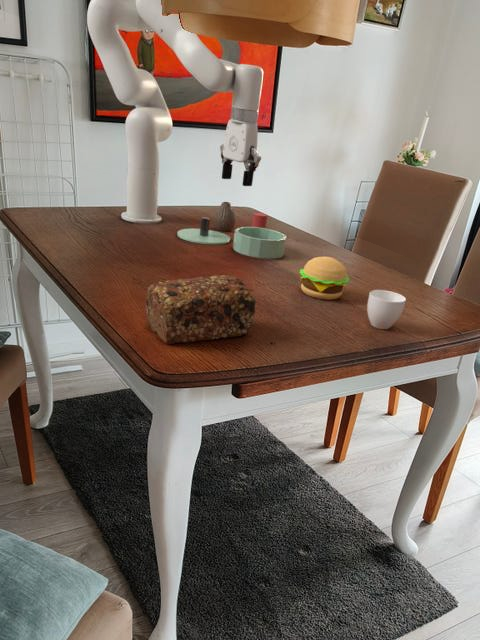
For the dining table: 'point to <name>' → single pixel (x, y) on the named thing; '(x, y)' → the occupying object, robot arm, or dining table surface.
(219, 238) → the lid
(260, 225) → the red cylinder
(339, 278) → the hamburger
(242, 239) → the pot
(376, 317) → the cup
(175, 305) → the bread
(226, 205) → the vase
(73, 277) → the dining table surface
